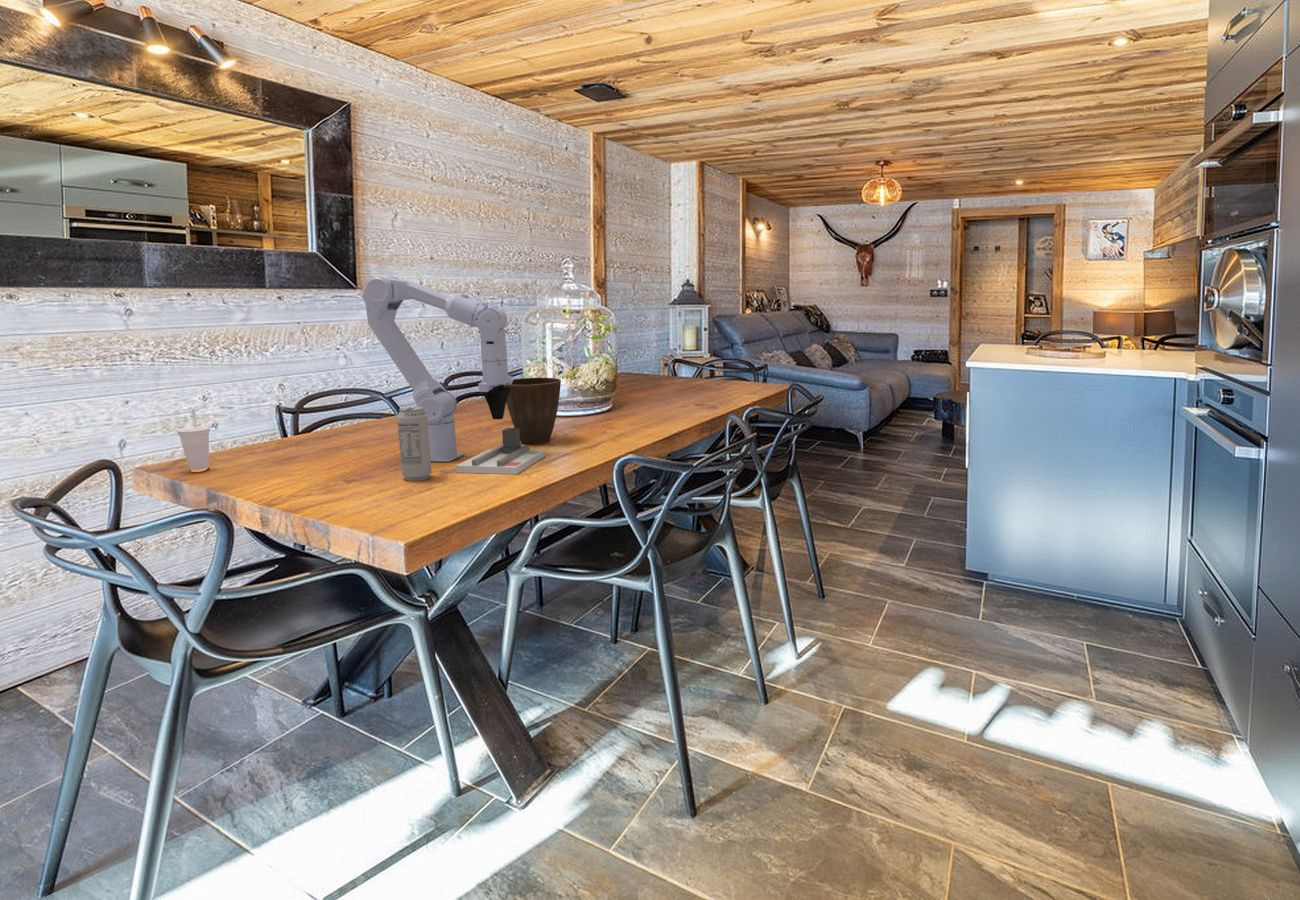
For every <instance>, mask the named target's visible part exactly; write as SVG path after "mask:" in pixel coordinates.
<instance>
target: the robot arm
mask: <svg viewBox="0 0 1300 900" xmlns="http://www.w3.org/2000/svg"><path fill="white" fill-rule="evenodd" d="M361 297H362V300H363V301H364V303H365V310H366V318H367V323H368V326H369V328H370V330H371V331H372V332H373V334H374V335H375V336H376V338H377V339H378V341H379V342H380V343H381V345H382V347H383V348H384V349H385V351H386V353H387V354H388V355H389V357H390V359H391V360H392V361H393V363H394V364H395V365H396V367H397V369H398V370H399V371H400V373H401V374H402V376H403V378H404V379H405V381H406V382H407V383H408V385H409V386H410V388H411V389H412V395H413V396H412V398H413V400H414V402H415V404H416V407H423V408H424V409H423V410H424V412H425V413H426V414H427V421H428V433H429V446H430V458H431V462H445V463H446V462H447V463H449V462H452V461H454V460H456V459H458V458H460V457H462V456H464V455H465V454H464V453H465V452H458V450H457V448H458V447H457V438H456V437H457V436H456V423H455V422H456V421H455V417H454V415H453V414H454V413H455V411H456V410H457V406H458V405H457V398H456V397H455V396H454V394H453V393H451V392H449V391H448V390H446V388H444V386H443V385H442V384H441V382H439V381H438V380H436V379H435V378H434V377H433V376H432V375H431V374H430V372H429V370H428V368H427V367H426V366H425V364H424V363H423V361H422V360H421V359H420V357H419V355H418V354H417V353H416V351H415V350H414V348H413V347H412V345H411V344H410V342H409V341H408V340H407V339H408V338H406V336H405V335H404V334H403V332H402V330H401V329H400V328H399V326H398V325H397V324H396V322H395V320H396V316H397V311H398V309H399V308H400V307H401V305H402V303H403V302H404V301H408V300H409V301H410V300H414V301H417V302H420V303H423V304H426V305H428V306H431V307H435V308H438V309H441V310H444V311H445V312H446V314H447V316H448V318H449V319H452V320H453V321H458V322H459V323H462V324H465V325H467V326H470V327H473V328H476V329H478V331H479V333H480V334H479V335H480V352H481V354H480V355H481V356H480V357H481V370H482V371H481V372H482V380H481V381H480V382H479V383H478V392H479V393H480V392H481V394H482V396H483V397H484V399H485V400H486V403H487V405H488V407H489V411H490V415H491V417H492V420H502V419H504V416H505V409H506V406H507V403H506V401H507V398H508V395H509V393H510V391H511V388H510V387H504V385H507V384H512V382H513V379H514V378H512V375H509V373H508V372H509V371H508V354H507V353H508V351H507V340H506V330H505V329H506V326H507V324H508V317H507V314H506V313H505V311H504V310H503V309H501V308H499V307H498V306H496V305H495V306H488V305H489V303H488V302H486V301H482V302H480V301H478V300H474V299H472V298H470V297H469V295H468V294H466V293H461V294H458V293H456V294H454V295H451V296H448V295H446V294H443V293H441V292H439V291H436V290H434V289H431V288H429V287H426V286H424V285H423V284H419V283H417V282H414V281H412V280H408V279H402V278H399V277H397V276H380V275H373V276H371V277H369V278H368V279H367V280H366V282H365V283H364V286H363V291H362V294H361Z"/></svg>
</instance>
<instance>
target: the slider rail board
mask: <svg viewBox="0 0 1300 900" xmlns="http://www.w3.org/2000/svg"><path fill="white" fill-rule="evenodd" d="M545 454H546V451H545V450H542V449H539V450H538V449H530V445H527V444H524V445H523V446H521V448H520V449H518V450H516V451H514V452H512V453H510V454H503V444H501V445H499V446H497V447H495V448H488V449H486V450H484V451H482V452H481V453H479V454H477V455H474V456H473V457H470V458H468V459H466V460H464V461H463V462H461V463H459V464H456V465H455V473H460V474H463V473H464V474H465V473H466V474H493V475H494V474H495V475H496V474H497V475H518V474H519V473H521V472H523V471H524V470H525V469H528V468H529V467H530V466H533V465H534V464H536V463H537V462H538V461H540V460H542V459H543V458H545V457H546V455H545Z"/></svg>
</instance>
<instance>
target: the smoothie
mask: <svg viewBox="0 0 1300 900" xmlns="http://www.w3.org/2000/svg"><path fill="white" fill-rule="evenodd" d="M191 414H192V421H193V426H192V427H189V426H188V427H183V428H179V429H177V431H176V432H177V436H179V439H180V443H181V446H182V448H183V452H184V455H185V459H186V462H187V466H188V469H202V468H207V467H209V468H210V437H209V436H210V435H209V434H210V432H211V430H210V427H209V426H198V425H197V424H198V423H197V418H196V417H197V416H196V410H195V409H191Z"/></svg>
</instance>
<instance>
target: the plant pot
mask: <svg viewBox="0 0 1300 900" xmlns="http://www.w3.org/2000/svg"><path fill="white" fill-rule="evenodd" d="M512 379H513V382H512V384H507V385H504V387H510V388H511V391H510V393H509V395H508V398H507V401H506V406H507V410H508V413H509V417H510V419H511V422H512V425H513V428H519V434H520V444H522V445H529V446H530V445H531V446H534V445H535V444H537V445H543V444H547V443H549V442H550V441H551V437H552V434H553V432H554V427H555V422H556V418H557V415H558V410H559V403H560V396H561V395H560V394H561V383H562V382H561V381H562V380H561V379H560V378H557V377H555V378H554V377H524V378H512Z"/></svg>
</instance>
